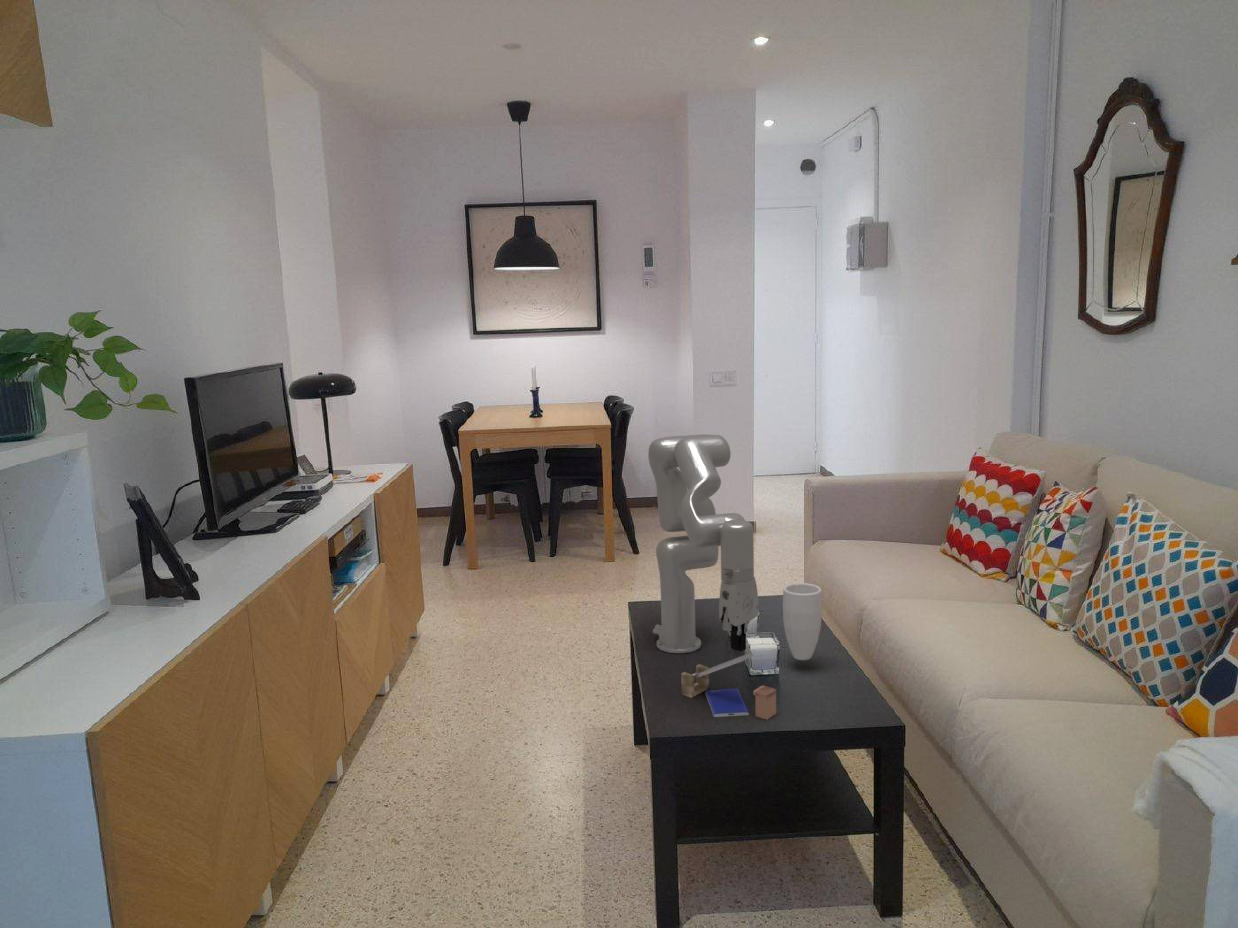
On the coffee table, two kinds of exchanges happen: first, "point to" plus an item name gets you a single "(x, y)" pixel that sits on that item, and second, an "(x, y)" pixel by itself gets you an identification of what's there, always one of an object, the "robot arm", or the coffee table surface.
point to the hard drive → (726, 702)
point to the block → (765, 702)
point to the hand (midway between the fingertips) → (738, 648)
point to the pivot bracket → (688, 682)
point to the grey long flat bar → (722, 666)
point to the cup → (802, 618)
